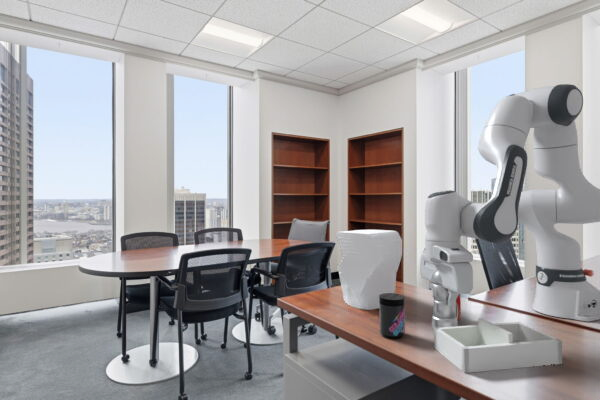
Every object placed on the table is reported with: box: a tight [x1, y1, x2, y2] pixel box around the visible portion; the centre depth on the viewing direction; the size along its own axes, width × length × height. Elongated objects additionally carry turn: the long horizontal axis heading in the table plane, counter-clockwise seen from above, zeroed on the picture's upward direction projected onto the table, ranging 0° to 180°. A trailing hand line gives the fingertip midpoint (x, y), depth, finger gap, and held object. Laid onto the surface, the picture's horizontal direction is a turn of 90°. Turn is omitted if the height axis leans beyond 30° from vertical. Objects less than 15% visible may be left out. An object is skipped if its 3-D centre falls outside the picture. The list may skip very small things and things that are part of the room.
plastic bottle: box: [431, 264, 459, 331], centre depth 92 cm, size 6×7×20 cm
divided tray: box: [433, 317, 563, 374], centre depth 78 cm, size 23×12×7 cm, turn 98°
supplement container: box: [378, 292, 406, 340], centre depth 92 cm, size 7×7×10 cm
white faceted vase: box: [334, 229, 403, 311], centre depth 120 cm, size 21×27×26 cm
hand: (443, 301), depth 92 cm, fingers closed on plastic bottle, 6 cm apart
